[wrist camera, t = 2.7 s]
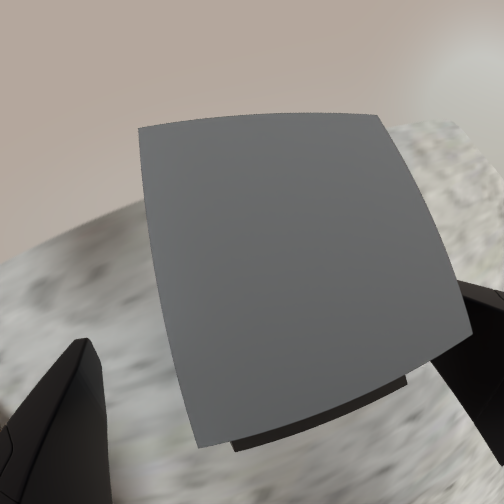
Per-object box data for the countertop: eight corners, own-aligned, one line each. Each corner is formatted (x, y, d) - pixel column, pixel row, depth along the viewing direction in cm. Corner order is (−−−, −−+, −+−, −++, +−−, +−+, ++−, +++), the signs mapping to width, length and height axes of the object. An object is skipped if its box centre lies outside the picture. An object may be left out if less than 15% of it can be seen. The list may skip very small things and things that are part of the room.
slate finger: (275, 375, 15) (480, 369, 3) (200, 394, 14) (215, 496, 2) (252, 293, 17) (377, 114, 5) (179, 308, 16) (138, 128, 4)
